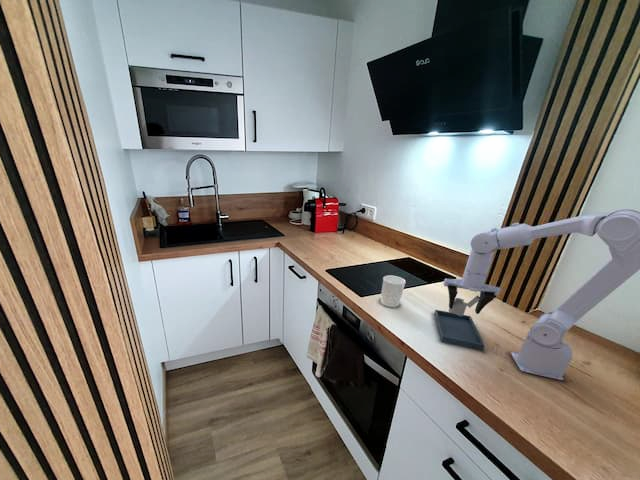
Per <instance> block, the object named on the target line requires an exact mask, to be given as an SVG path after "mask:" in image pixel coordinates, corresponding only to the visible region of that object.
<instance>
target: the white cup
mask: <svg viewBox="0 0 640 480" xmlns="http://www.w3.org/2000/svg"><path fill="white" fill-rule="evenodd" d="M405 285H406V280H405V279H404V278H403V277H400V276H397V275H393V274H392V275H391V274H389V275H385V276H383V277H382V284H381V292H380V303H381V304H382V305H383V306H385V307H389V308H396V307H398V306H399V305H400V302H401V299H402V296H403V292H404V289H405Z"/></svg>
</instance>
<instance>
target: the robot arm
mask: <svg viewBox="0 0 640 480" xmlns="http://www.w3.org/2000/svg"><path fill="white" fill-rule="evenodd" d="M574 233H575V234H576V233H577V234H581V235H585V236H588V237H594V236H595V235H596V234H597V236H598V237H599V238H600V239H601V241H602V242H603V243H604V244H605V245H607V247H608V250H609V253H610V256H611V259H609V260H608V261H607V262H606V263H605V264H604V265H603V266H602V267H600V269H598V270H597V271H596V272H595V273H594V274H592V276H591V277H589V278H588V279H587V280H586V281H585V282H584V283H583V284H582V285H580V287H578V288H577V289H576V290H574V292H573V293H571V295H569V296H568V297H567V298H566V299H565V300H563V302H562V303H560V304H559V305H558V306H557V307H555V308H554V309H553V310H552V311H548V312H545V313H542V314H541V315H540V316H539V318H538V319H537V320H536V322H535V323H534V324H532V325H531V327H530V328H529V331H527V334H526V336H525V338H524V341H523V342H522V345H521V347H520V350H519V352H518V353H517V352H513V351H512V352H510V355H511V357H512V359H513V360H514V363H515V364H516V365H517V367H518V369H519V371H521V372H523V373H527V374H532V375H535V376H542V377H545V378H550V379H554V380H559V381H564V377H563V376H564V375H565V372H566V371H567V370H568V367H569V366H570V364H571V362H572V359H573V355H574V354H573V353H574V352H573V349H572V346H570V344H569V343H566V342H564V341H563V340H564V336H565V335H566V334H567V332H569V330H570V329H571V328H572V327H573V326H574V325H575V324H576V323H577V322H578V321H579V320H580V319H582V318H583V317H584V316H585V315H586V314H588V313H589V312H590V311H591V310H593V309H594V308H595V307H596V306H597V305H599V303H601V302H603V300H604V299H606V298H607V297H608V296H610V295H611V294H612V293H613V292H614V291H616V289H618V288H619V287H620V286H622V285H623V284H624V283H625V282H626V281H628V280H629V279H630V278H631V277H632V276H634V275H635V274H636V273H637V272H639V271H640V211H638V210H635V209H629V208H625V209H623V208H622V209H618V210H615V211H613V212H610V211H601V212H595V213H594V212H593V213H589V214H587V213H586V214H583V215H578V216H574V217H569V218H564V219H561V220H557V221H556V220H555V221H552V222H548V223H543V224H540V225H535V226H533V225H529V224H527V223H520V222H515V223H512V224H511V226H505V227H501V228H496V227H495V228H491V229H490V230H486V231H483V232H481V233H477V234H475V235H474V236H473V237H472V239H471V240H470V247H471V250H470V253H469V255H468V258H467V262H466V265H465V267H464V271H463V275H462V277H461V279H458V278H444V280H443V286H444V287H447V291H448V309H449V308H450V309H452V307H453V304H454V300H455V299H456V298H457V296H458V293H459V292H458V288H459V289H463V290H469V291H471V292H476V293H478V292H479V297H480V298H481V299H480V300H479V301H478V302H477V303H476V306H475V309H474V311H475V314H476V315H480V313H481V311H482V310H483V309H484V308H485V307H486V306H487V305H488V304H489V303H491V302H492V301H494V299H495V296H499V295H500V293H501V288H500V287H498V286H494V285H491V284H486V283H485V282H486V279H487V276H488V274H489V270H490V267H491V265H492V262H493V257H494V254H495V251H496V250H506V249H512V248H517V247H524V246H529V245H531V244H532V243H533V241H534V240H536V239H541V238H542V239H543V238H549V237H555V236H562V235H567V234H574Z"/></svg>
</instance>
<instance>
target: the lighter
mask: <svg viewBox="0 0 640 480" xmlns="http://www.w3.org/2000/svg"><path fill="white" fill-rule="evenodd" d="M480 299H481V298H480V295H476V296H475V297H473V298H472V299H471V300H470V301H468V302H465V299H463V298H460V297H456V298H455V300H454V304H453V307H452V309H450V308H449V307H448V312H451V313H454V314H456V315H459V316H463V315H465V312H466V308H467V307H468V308H472V307H473V306H474V305H475V304H477V303H478V301H479V300H480Z"/></svg>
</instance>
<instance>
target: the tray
mask: <svg viewBox="0 0 640 480" xmlns="http://www.w3.org/2000/svg"><path fill="white" fill-rule="evenodd" d="M433 317H434V319H435V323H436V328H437V331H438V335H439V339H440V342H441V343H445V344H449V345H454V346H459V347H464V348H469V349H473V350H478V351H483V350H484V348H485V343H484V341H483V339H482V337H481V335H480V333H479V331H478V328H477V327H476V325H475V322H474V320H473V317H472V316H471V315H467V314H464V315H463V316H459V315H456V314H454V313H451V312H449V311H445V310H440V309H435V310H434V313H433Z"/></svg>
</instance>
